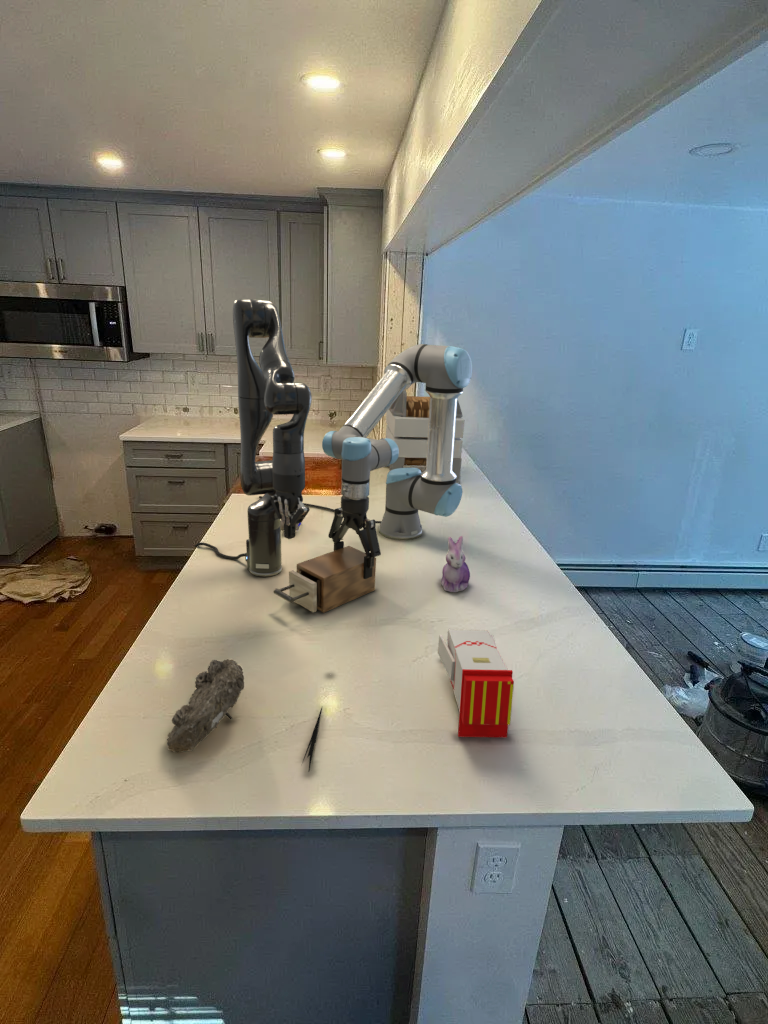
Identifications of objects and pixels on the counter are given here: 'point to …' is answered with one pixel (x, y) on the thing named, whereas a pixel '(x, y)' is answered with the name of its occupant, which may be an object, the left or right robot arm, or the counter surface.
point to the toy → (478, 682)
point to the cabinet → (340, 576)
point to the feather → (313, 740)
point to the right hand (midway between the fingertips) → (352, 570)
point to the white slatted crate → (417, 432)
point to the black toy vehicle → (283, 525)
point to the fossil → (206, 705)
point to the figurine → (455, 568)
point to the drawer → (302, 590)
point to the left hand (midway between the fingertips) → (289, 537)
